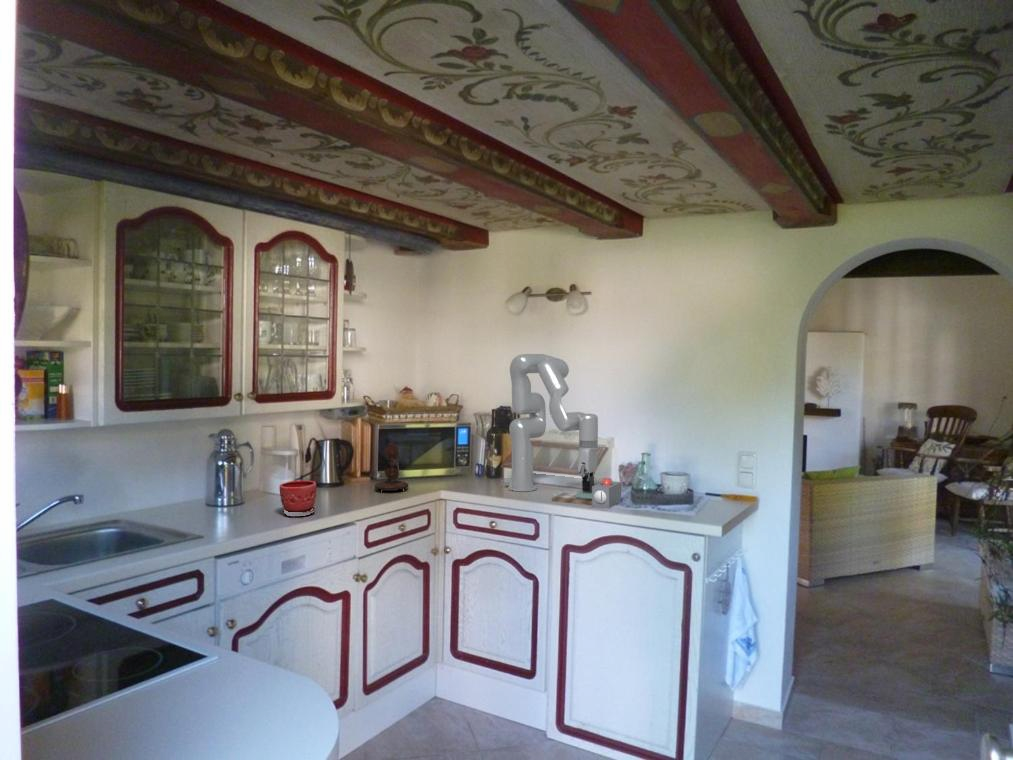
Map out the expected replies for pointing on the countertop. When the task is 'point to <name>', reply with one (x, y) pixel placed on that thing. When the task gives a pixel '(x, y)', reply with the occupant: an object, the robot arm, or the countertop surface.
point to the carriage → (586, 493)
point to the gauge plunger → (606, 481)
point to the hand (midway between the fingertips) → (588, 489)
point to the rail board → (571, 498)
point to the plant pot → (298, 495)
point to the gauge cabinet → (606, 495)
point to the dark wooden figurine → (391, 471)
